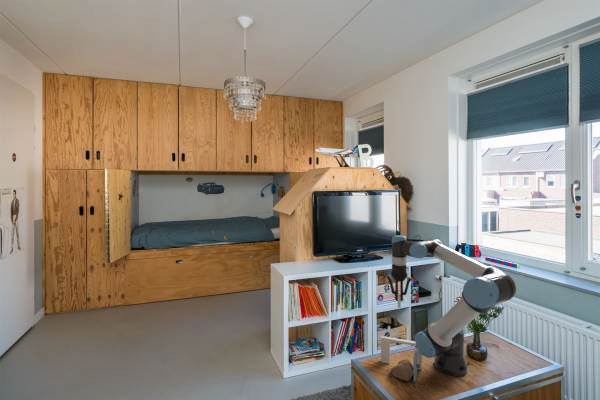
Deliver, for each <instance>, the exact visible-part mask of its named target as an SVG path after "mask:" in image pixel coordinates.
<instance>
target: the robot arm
mask: <svg viewBox="0 0 600 400" xmlns="http://www.w3.org/2000/svg"><path fill="white" fill-rule="evenodd" d="M429 255H430V256H432V257H434V258H436V259H437V260H440V261H441V262H443V263H445V264H447V265H449V266H450V267H453V268H454V269H456V270H458V271H460V272H461V273H463V274H465V275H467V276H469V277H470V278H469V279H468V280H467V281H466V282H465V283H464V284H463V287H462V292H461V298H460V299H459V300H458V301H457V302H456V303H455V304H454V305H453V306H452V307H451V308H450V309H449V310H448V311H447V312H446V313H445V314H444V315H443V316H442V317H441V318H439V320H438V321H437V322H431V323H430V324H429V325H428V326H427V327H426V328H425V329H424V330H422V331H418V332H417V333H416V334H415V335H414V341H415V342H416V346H417V348H418V350H419V351H420V353H421V354H422V357H423V356H424V357H425V358H427V359H431V358H433V359H434V361H433V362H434V367H435V368H436V369H437V370H439V372H441V373H442V374H446V375H449V376H452V377H453V376H454V377H461V376H465V375H466V374H468V364H467V361H466V357H465V355H464V354H465V353H464V347H465V345H464V342H465V327H466V326H468V325H469V324H470V323H471V322H472V321H473V320H474V319H475V318H477V317H478V316H479V314H481V315H486V314H487V313H489V312H490V311H491V310H492V309H493V308H495V306H497V305H499V304H501V303H505V302H508V301H510V300H512V299H513V298H514V297H515V296H516V293H517V286H516V282H515V281H514V279H513V278H512V277H511V275H509V274H507V272H504V270H501V269H499V268H497V267H495V266H493V265H490V266H487V265H485V264H483V263H481V262H479V261H477V260H475V259H473V258H470V257H469V256H466V255H465V254H462V253H461V252H458V251H456V250H454V249H452V248H449V247H447V246H446V245H444V244H443V242H442V241H441V240H440V239H437V238H431V239H426V240H420V241H409V240H407V236H406V235H402V234H400V235H399V234H395V235H393V236H392V237H391V272H390V274H387V276H386V279H387V280H388V281H389V282H388V283H389V286H390V291H391V293H392V295H395V301H397V308H399V309H401V307H402V302H403V301H404V296H406V295H407V293H408V290H409V286H410V285H409V284H410V282H412V277H411V276H409V275H408V273H407V257H412V258H415V259H421V260H422V259H424V258H425V257H426V256H429ZM392 279H393V280H394V281H395V282H394V283H395V285H394V284H393V280H392ZM405 280H406V284H405V287H404V281H405ZM399 283H400V291H399ZM399 292H400V293H399Z"/></svg>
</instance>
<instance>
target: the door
mask: <svg viewBox="0 0 600 400" xmlns="http://www.w3.org/2000/svg"><path fill="white" fill-rule="evenodd" d="M412 366H413V375H412V377H413V380H412V381H413V382H415V383H416V382H417V377H418V368H420V364H418V348H417V346H414V350H413V364H412Z"/></svg>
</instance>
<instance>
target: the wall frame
mask: <svg viewBox="0 0 600 400" xmlns="http://www.w3.org/2000/svg"><path fill="white" fill-rule="evenodd" d="M391 343H397V344H402V345H409V346H414V347H415V346H416V342H415V340H408V339H404V338H403V339H401V338H395V337H391V336H384V335H381V336H380V363H383V364H388V365H390V364H391ZM418 364H420V368H418V369H417V371H418V370H419V371H422V369H423V355H422V354H421V353H420V351H419V350H418Z"/></svg>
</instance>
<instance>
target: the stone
mask: <svg viewBox="0 0 600 400" xmlns="http://www.w3.org/2000/svg"><path fill="white" fill-rule="evenodd" d="M390 374H392V376H394V377H395V378H398V379H400V380H402V381H406V382H408V381H411V380H412V377H413V364H412V363H411V361H410V360H409V359H401V360H400V361H398V363H397V365H395V366H393V367H391V368H390Z"/></svg>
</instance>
